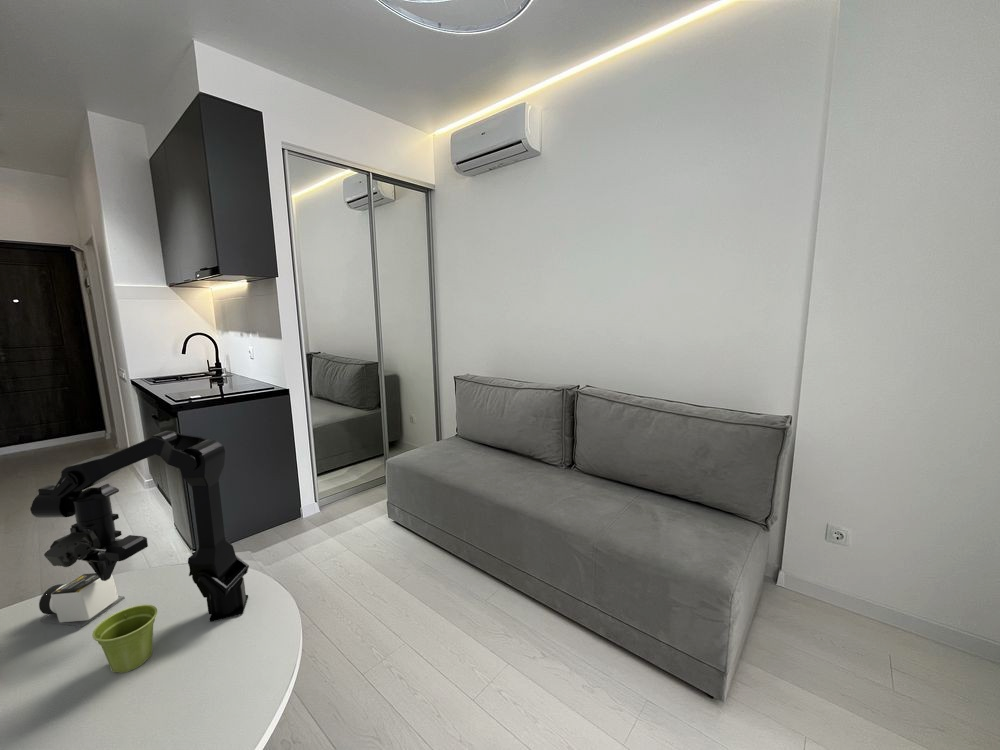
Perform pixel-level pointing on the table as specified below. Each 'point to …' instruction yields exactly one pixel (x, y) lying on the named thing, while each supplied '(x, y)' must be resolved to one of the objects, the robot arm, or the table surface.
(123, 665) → the plant pot
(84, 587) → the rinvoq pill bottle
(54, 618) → the mat
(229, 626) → the table surface
